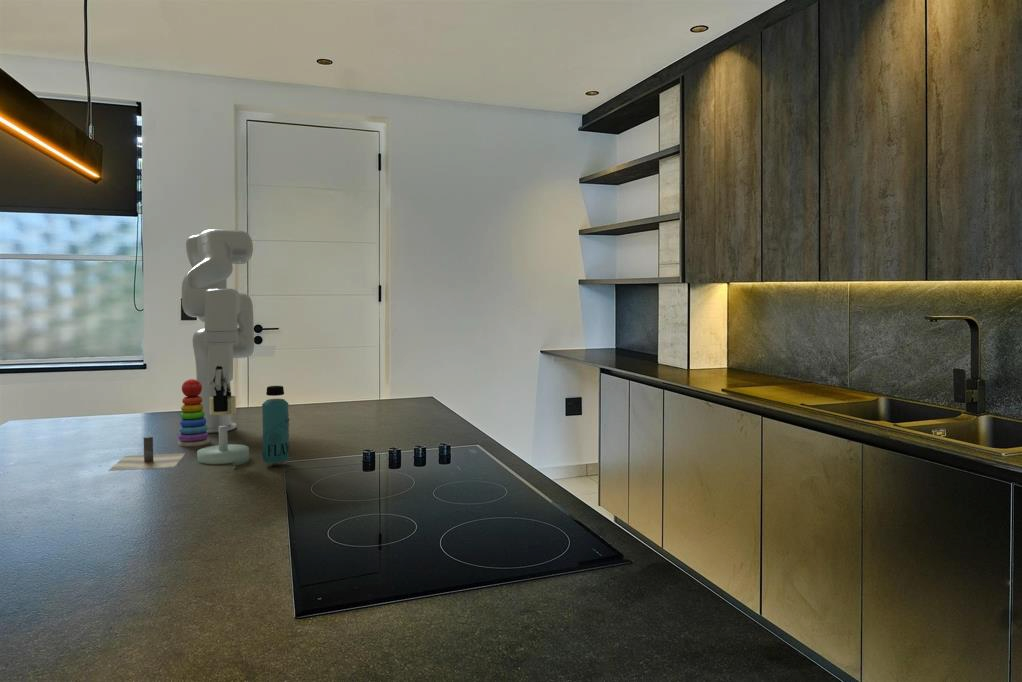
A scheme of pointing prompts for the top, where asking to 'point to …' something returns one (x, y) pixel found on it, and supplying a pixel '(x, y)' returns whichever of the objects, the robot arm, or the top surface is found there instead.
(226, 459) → the sage hub
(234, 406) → the brass ring
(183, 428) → the stacking toy
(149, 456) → the oak stand
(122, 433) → the top surface
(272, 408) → the beverage bottle
